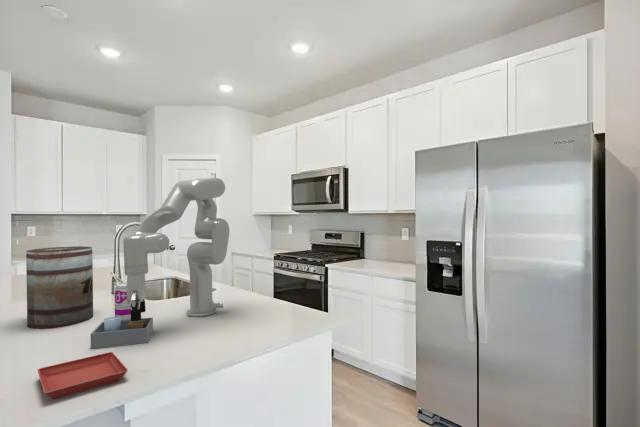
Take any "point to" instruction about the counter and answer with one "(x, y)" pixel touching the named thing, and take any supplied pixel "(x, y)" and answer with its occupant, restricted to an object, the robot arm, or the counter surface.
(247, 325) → the counter surface
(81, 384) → the plant saucer
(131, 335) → the tote
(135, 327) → the walnut cube
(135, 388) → the counter surface
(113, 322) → the blue cylinder
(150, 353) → the counter surface
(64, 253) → the barrel
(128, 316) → the supplement can
